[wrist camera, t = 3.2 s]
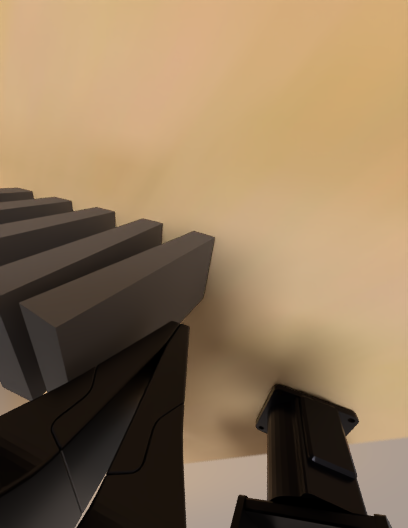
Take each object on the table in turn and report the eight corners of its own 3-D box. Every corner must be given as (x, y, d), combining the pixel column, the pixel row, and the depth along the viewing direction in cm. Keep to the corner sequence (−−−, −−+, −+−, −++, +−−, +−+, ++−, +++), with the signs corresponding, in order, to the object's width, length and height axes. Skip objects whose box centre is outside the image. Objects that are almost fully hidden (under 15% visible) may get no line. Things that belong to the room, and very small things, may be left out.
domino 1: (203, 297, 15) (79, 431, 7) (185, 290, 16) (51, 406, 8) (214, 237, 13) (55, 327, 5) (193, 230, 14) (19, 302, 5)
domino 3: (117, 269, 17) (-40, 365, 8) (101, 264, 18) (-66, 352, 9) (114, 211, 15) (-102, 260, 6) (96, 207, 15) (-133, 248, 7)
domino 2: (158, 282, 16) (34, 402, 8) (141, 276, 17) (3, 386, 8) (162, 223, 14) (-7, 298, 5) (142, 218, 15) (-47, 282, 6)
